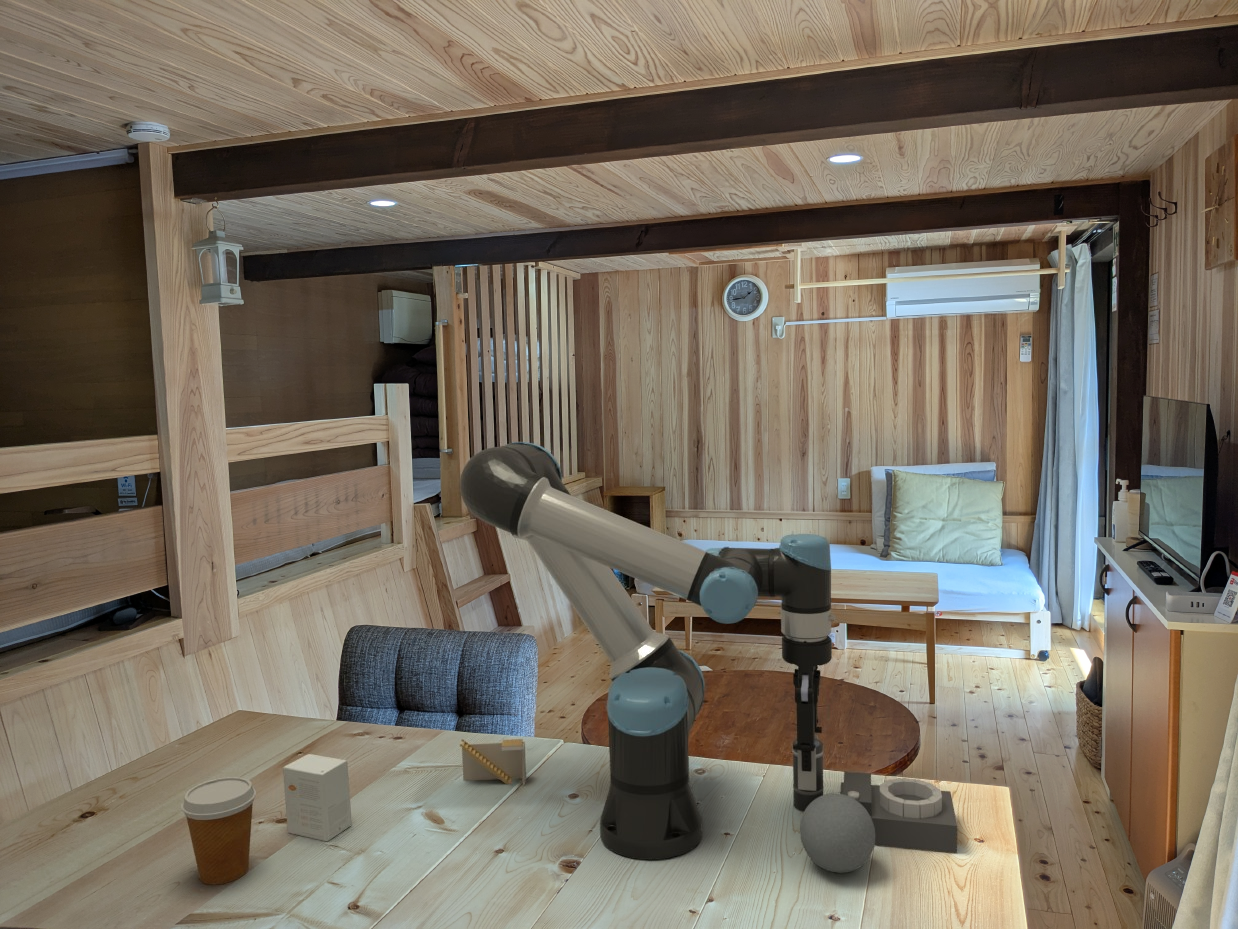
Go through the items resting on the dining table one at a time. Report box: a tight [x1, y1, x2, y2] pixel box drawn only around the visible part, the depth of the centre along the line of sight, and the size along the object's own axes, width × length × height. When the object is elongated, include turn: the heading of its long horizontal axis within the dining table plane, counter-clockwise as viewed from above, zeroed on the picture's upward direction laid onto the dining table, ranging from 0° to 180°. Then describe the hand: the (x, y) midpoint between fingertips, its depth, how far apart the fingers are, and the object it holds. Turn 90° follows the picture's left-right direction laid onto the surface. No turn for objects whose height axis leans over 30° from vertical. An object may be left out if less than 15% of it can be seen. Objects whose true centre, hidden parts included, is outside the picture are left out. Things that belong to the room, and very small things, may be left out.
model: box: [459, 738, 527, 786], centre depth 154 cm, size 3×11×8 cm, turn 92°
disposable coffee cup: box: [180, 776, 257, 885], centre depth 127 cm, size 10×10×12 cm
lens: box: [791, 738, 825, 813], centre depth 142 cm, size 5×5×10 cm
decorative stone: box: [799, 793, 876, 874], centre depth 123 cm, size 10×10×10 cm
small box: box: [282, 753, 353, 842], centre depth 139 cm, size 8×6×10 cm
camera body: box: [839, 771, 958, 854], centre depth 134 cm, size 16×11×7 cm
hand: (808, 781), depth 142 cm, fingers closed on lens, 5 cm apart
